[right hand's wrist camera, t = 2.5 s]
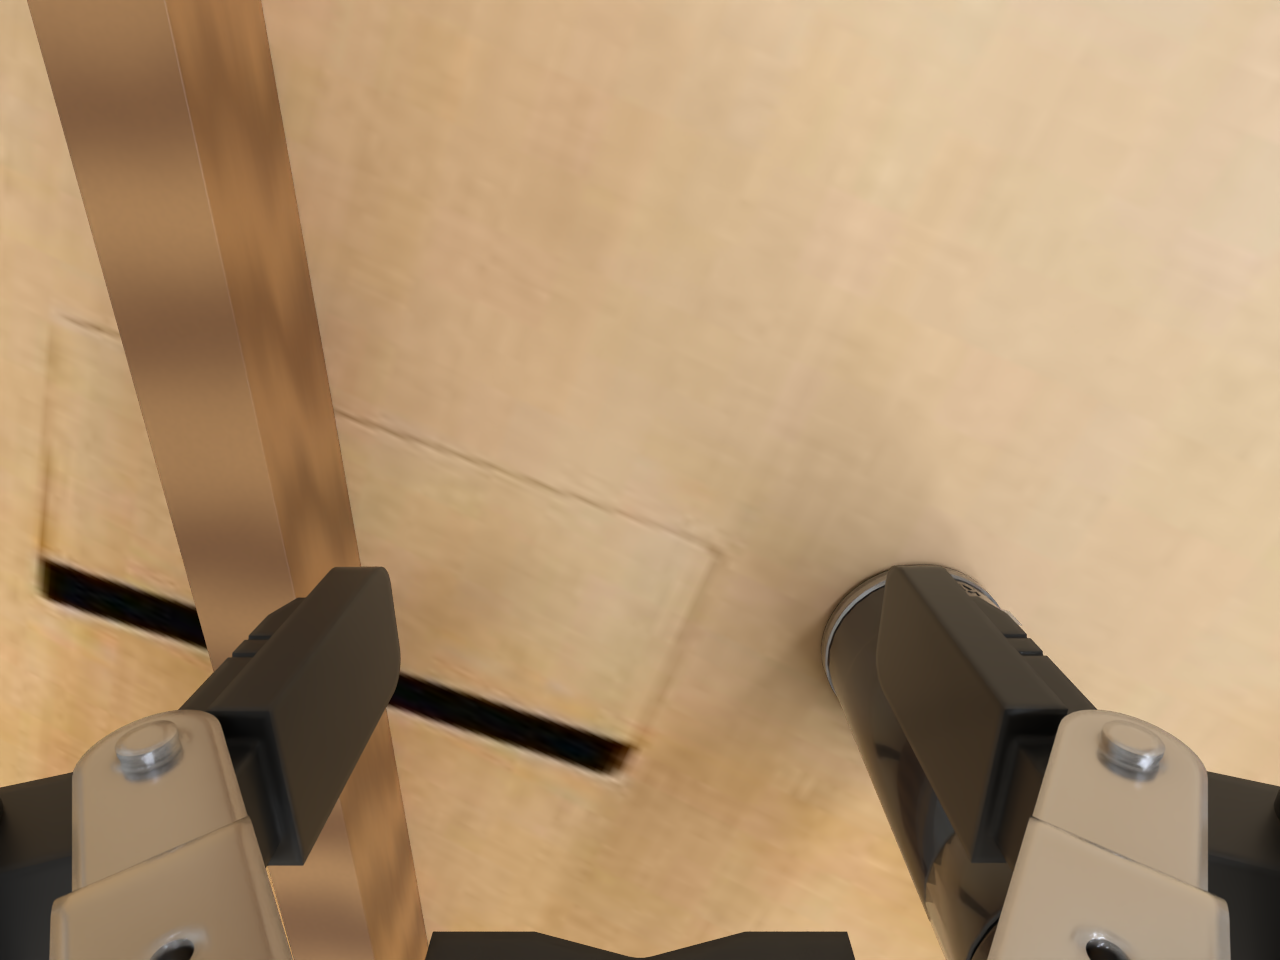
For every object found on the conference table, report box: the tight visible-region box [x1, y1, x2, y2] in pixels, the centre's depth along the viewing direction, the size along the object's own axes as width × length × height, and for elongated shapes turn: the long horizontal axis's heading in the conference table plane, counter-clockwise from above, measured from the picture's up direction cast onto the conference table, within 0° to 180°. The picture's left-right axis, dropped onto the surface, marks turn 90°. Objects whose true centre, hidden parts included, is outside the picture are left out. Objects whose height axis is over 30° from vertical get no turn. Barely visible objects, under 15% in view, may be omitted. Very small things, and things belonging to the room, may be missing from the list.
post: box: [27, 0, 428, 960], centre depth 28 cm, size 84×4×6 cm, turn 1°
